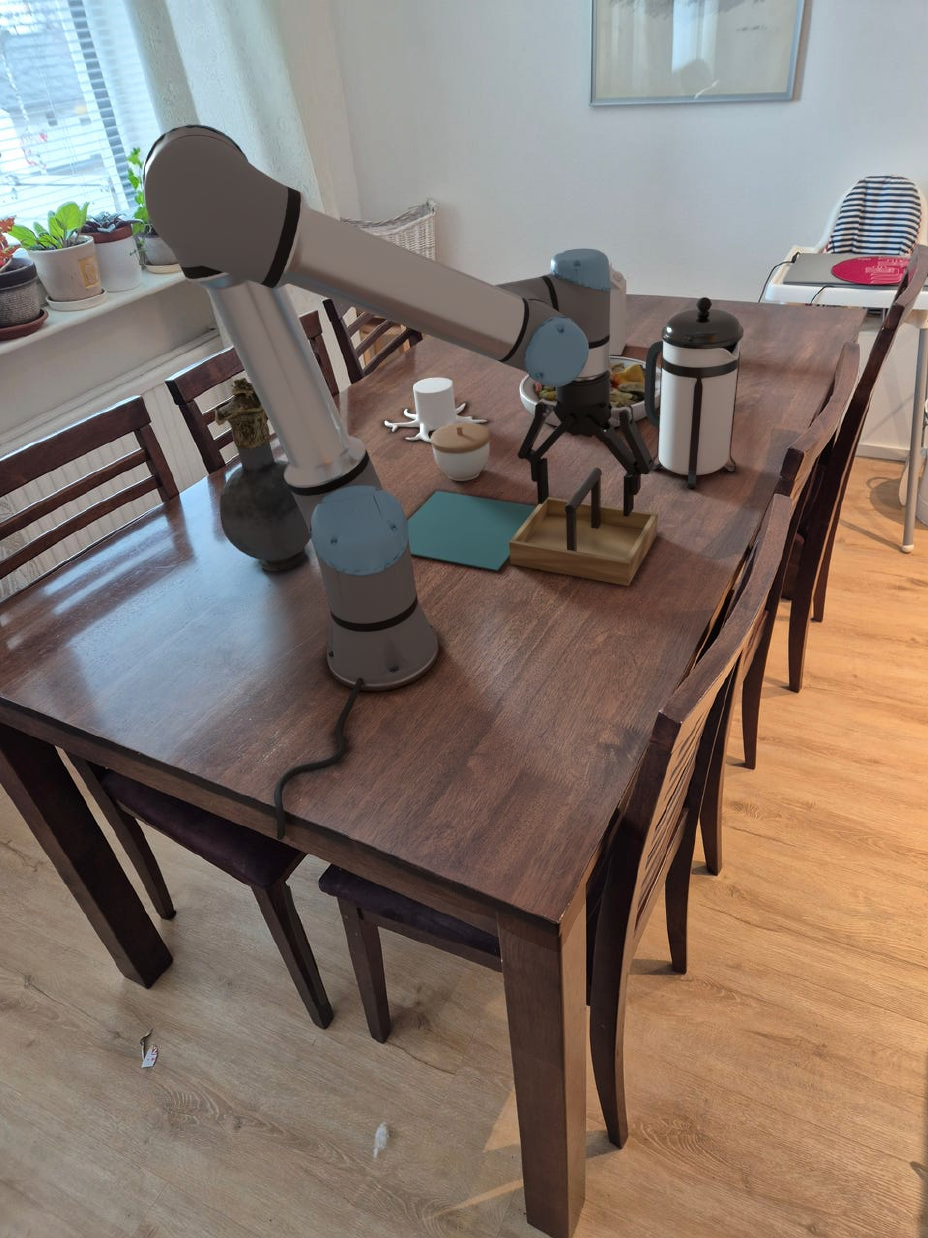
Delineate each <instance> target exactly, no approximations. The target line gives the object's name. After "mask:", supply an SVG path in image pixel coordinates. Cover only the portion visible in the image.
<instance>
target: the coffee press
mask: <svg viewBox="0 0 928 1238" xmlns="http://www.w3.org/2000/svg"><path fill="white" fill-rule="evenodd" d="M712 304H713V303H712V301H711V299H710V298H708V297H707V296H703V297H700V298H699V299H698V301H697V303H696V305H695V306H696V308H690V309H685V310H682V311H679V312H677V313H675V314H674V315H672V316H671V317H669V319H668V320H667V321H666V323H665V326H664V327H663V328H662V329H661V333H660V334H661V340H659V341H656V342H654V343H652V344H651V345H650V347H649V348H648V350H647V353H646V358H645V362H646V365H645V389H644V404H645V411H646V414H647V416H646V417H647V419H648V421H649V423H650V424H651V425H652V426H653V427H654V428H656V429H657V446H656V447H657V448H656V454H655V455H654V456H653V457H652V459H653V461H654V462H655V461H656V459H657V457H658V460H659V463H658V464H657V465H654V466H653V467H652V469H651V471H657V470H659V469H660V468H661V467H664V468H665V469H667V470H668V471H671V472H672V473H676V474H678V475H685V476H687V486H686V487H687V488H688V489H696V485H697V484H696V482H697V476H703V475H708V474H712V473H715V472H716V471H719V470H720V469H722V468H724V469H725V470H726V471H728V472H729V473H734V472H735V471H736V470H737V462H736V461H735V460H734V458H733V457H732V454H731V453H732V442H733V433H734V432H733V431H734V422H735V411H736V404H737V403H736V402H737V393H738V383H739V371H740V360H741V351H740V345H741V341H742V339H743V337H744V333H745V330H744V327H743V325H741V321H740V319H739V318H738V317H737V316H736V315H735V314H733V313H732V312H730V311H727V310H725V309H721V308H720V309H719V308H714V307H712ZM660 353H661V355H660ZM659 355H660V356H661V359H660V369H661V377H660V399H659V407H658V412H657V409H655V382H656V367H657V362H658V357H659ZM661 378H662V385H661ZM660 400H661V404H660ZM728 460H730V461H731V463H732V464H733V467H730V466H728V464H727V462H728Z"/></svg>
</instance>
